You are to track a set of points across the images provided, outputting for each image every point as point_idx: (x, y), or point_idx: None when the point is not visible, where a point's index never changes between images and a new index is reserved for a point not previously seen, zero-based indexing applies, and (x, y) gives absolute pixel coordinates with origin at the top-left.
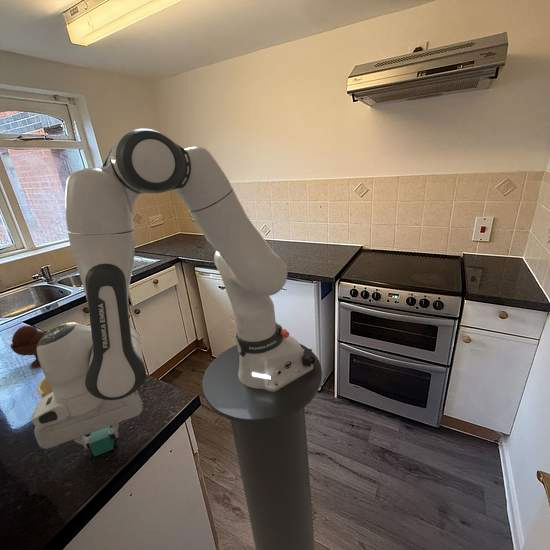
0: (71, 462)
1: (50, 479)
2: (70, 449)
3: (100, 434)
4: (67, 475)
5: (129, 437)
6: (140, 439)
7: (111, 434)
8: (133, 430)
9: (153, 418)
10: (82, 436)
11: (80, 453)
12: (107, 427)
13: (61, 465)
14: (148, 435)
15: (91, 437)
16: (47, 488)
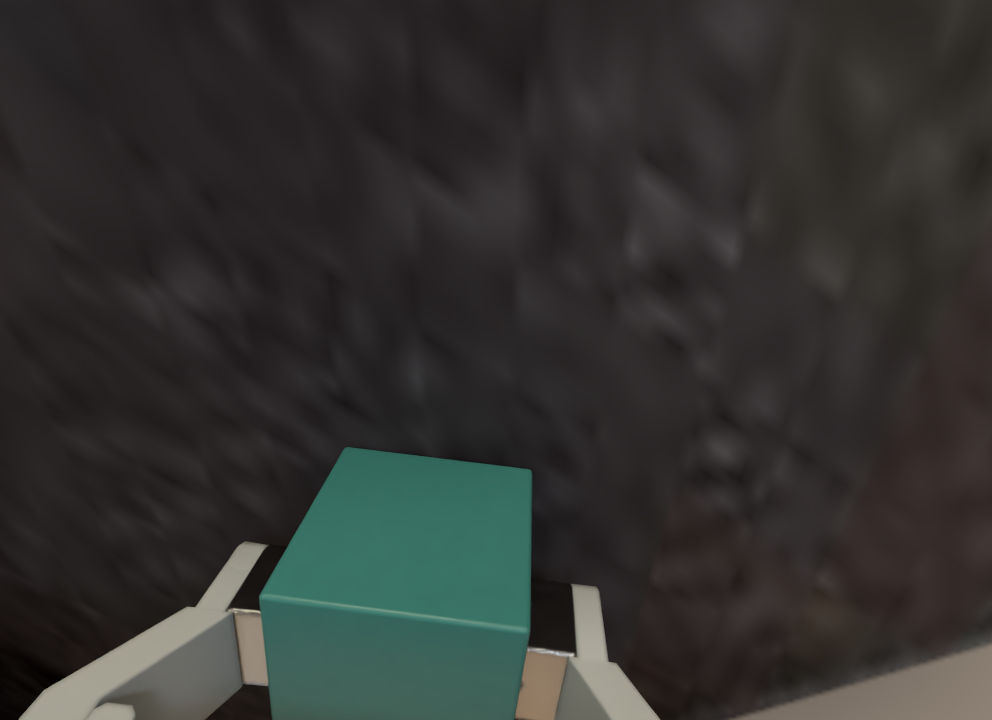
0: (152, 523)
1: (33, 581)
2: (80, 363)
3: (403, 717)
4: (162, 618)
5: (667, 564)
6: (750, 638)
7: (530, 717)
8: (727, 507)
9: (987, 477)
10: (157, 693)
11: (208, 474)
12: (494, 678)
13: (68, 504)
14: (830, 640)
15: (290, 702)
16: (48, 635)
